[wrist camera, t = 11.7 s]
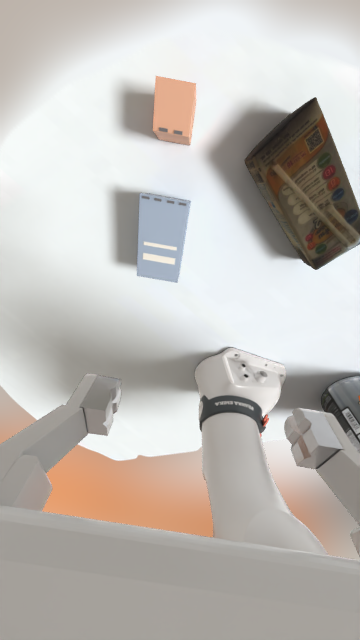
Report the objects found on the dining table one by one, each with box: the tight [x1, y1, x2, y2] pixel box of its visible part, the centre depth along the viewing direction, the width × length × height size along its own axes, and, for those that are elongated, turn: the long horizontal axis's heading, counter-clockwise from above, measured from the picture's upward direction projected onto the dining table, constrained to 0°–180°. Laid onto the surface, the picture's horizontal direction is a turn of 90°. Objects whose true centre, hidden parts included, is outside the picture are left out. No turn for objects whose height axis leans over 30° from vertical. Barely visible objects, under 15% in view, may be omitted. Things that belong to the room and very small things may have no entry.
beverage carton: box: [245, 97, 360, 270], centre depth 28 cm, size 8×19×7 cm, turn 41°
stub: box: [153, 76, 196, 145], centre depth 25 cm, size 4×4×5 cm
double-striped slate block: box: [137, 193, 191, 283], centre depth 33 cm, size 7×12×5 cm, turn 171°
